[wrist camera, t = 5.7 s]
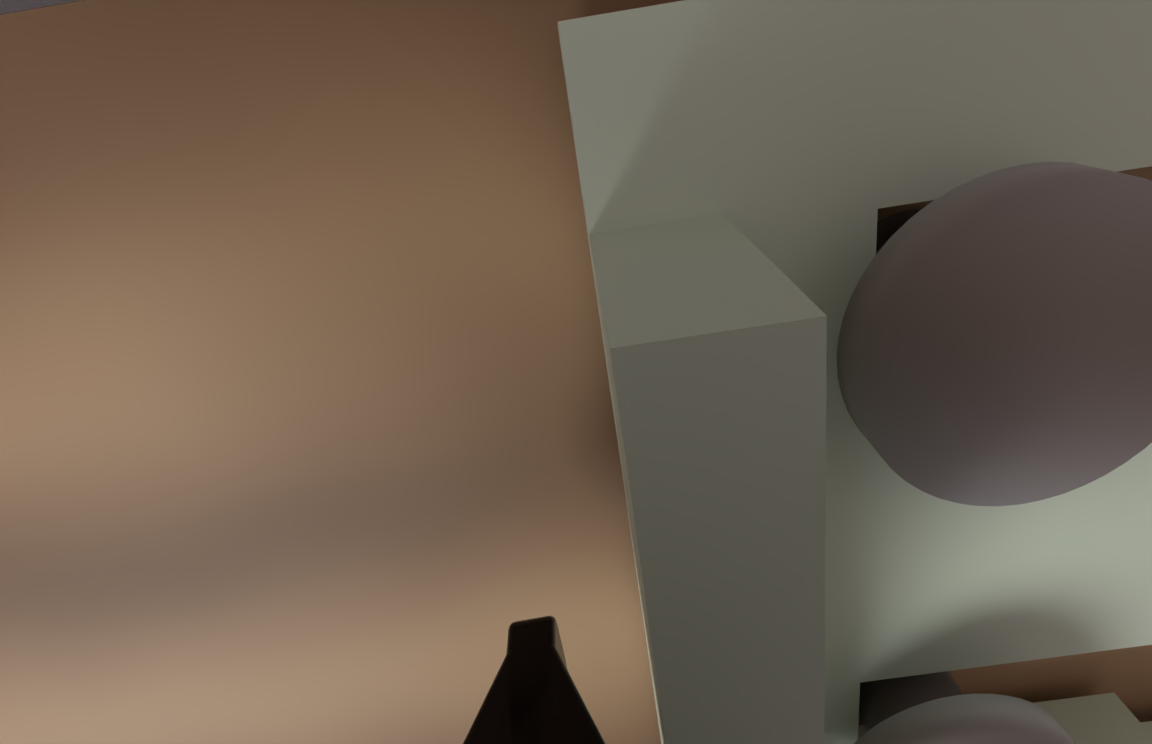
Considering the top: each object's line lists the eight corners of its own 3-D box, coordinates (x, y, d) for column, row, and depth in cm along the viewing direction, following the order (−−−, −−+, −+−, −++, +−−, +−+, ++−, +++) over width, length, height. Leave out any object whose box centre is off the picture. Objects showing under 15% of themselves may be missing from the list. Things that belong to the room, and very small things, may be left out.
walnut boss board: (1344, 717, 14) (1577, 915, 11) (129, 869, 15) (14, 1092, 12) (1822, -289, 7) (2796, -547, 4) (-425, 99, 8) (-1039, 133, 5)
